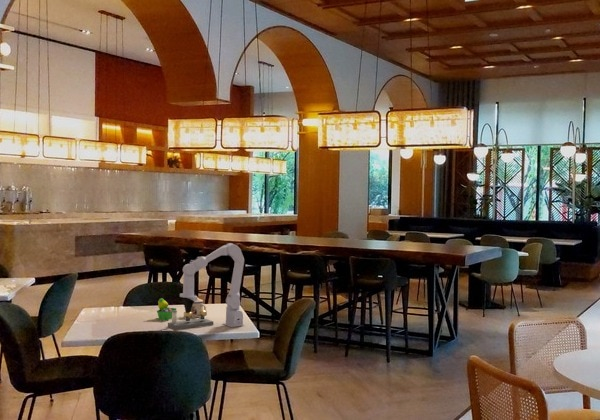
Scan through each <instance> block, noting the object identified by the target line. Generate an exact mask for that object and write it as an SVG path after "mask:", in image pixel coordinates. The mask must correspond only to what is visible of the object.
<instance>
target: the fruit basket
mask: <svg viewBox="0 0 600 420" xmlns="http://www.w3.org/2000/svg"><path fill="white" fill-rule="evenodd" d="M157 303H158V305H157V307H158V310H156V313H157V316H158V320H159V321H170V320H172V310H176V311H177V308H175V307H169V303H168V302H167V301H166V300H165V299H164V298H162V297H161V298H159V299H158V301H157ZM169 319H170V320H169Z"/></svg>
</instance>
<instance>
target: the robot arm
mask: <svg viewBox="0 0 600 420" xmlns="http://www.w3.org/2000/svg"><path fill="white" fill-rule="evenodd" d="M221 256H229V257H231V259H232V260H233V261H234V265H233V266H234V267H233V271H232V276H231V282H230V289H229V291H228V295H227V296H226V298H225V305H227V306H226V308H225V322H223V323H222V325H224V326H228V327H231V328H236V327H243V326H245V324H244V313H243V311H242V310H240V308H241V307H240V306H241V295H240V289H241V284H242V278H243V277H242V276H243V271H244V265H245V258H244V255H243V252H242V249H241V248H240V247H239V246H238V245H236V244H234V243H232V242H229V243H226V244H224V245H222V246H220V247H218V248H217V249H216V250H214V251H212V252H210V254H207V255H206V256H202V255H201V256H197V257H196V258H195V259H194V260H193V261H189V263H187V264H186V263H185V265H183V267H182V273H183V278H182V279H183V281H182V282H183V283H182V287H183V288H182V293H179V297H180V298H181V302H182V304H183V307H184V310H185V311H184V312H186V313H190V312H191V308H192V305H193V303H194V301H197V298H198V296H197V295H196V294H195V274H196V272H198V271H200V270H202V269H203V268H205V267H207V266H208V263H210V262H211V261H214V260H215V259H217V258H219V257H221ZM196 296H197V297H196Z"/></svg>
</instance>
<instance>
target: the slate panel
mask: <svg viewBox="0 0 600 420" xmlns="http://www.w3.org/2000/svg"><path fill="white" fill-rule="evenodd" d="M209 326H214V321H213V320H211V319H207V318H204V319H200V318H196V319H194V318H193V319H190V321H186V320H180V321H176V324H172V321H171V322H169V321H168V322H167V327H168V328H171V329H174V330H176V329H177V331H179V330H187V329H193V328H201V327H209Z"/></svg>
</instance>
